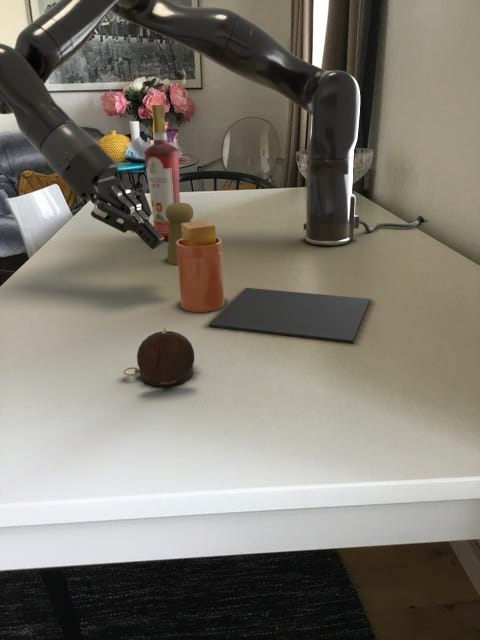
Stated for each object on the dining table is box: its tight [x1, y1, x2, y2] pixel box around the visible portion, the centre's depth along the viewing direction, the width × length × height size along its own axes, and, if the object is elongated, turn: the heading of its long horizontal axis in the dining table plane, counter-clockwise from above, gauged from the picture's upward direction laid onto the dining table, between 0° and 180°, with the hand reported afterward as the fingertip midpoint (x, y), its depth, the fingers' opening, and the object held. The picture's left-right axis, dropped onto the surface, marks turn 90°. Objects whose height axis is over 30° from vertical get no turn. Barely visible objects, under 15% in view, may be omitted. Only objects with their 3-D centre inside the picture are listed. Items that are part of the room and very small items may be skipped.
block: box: [181, 220, 217, 247], centre depth 83 cm, size 4×4×4 cm
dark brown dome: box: [122, 327, 195, 386], centre depth 64 cm, size 8×8×7 cm
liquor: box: [143, 104, 181, 241], centre depth 122 cm, size 7×7×28 cm
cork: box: [166, 202, 194, 266], centre depth 108 cm, size 6×6×11 cm
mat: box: [208, 287, 371, 344], centre depth 83 cm, size 20×16×1 cm
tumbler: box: [176, 236, 225, 313], centre depth 85 cm, size 7×7×10 cm
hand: (158, 244), depth 86 cm, fingers closed
